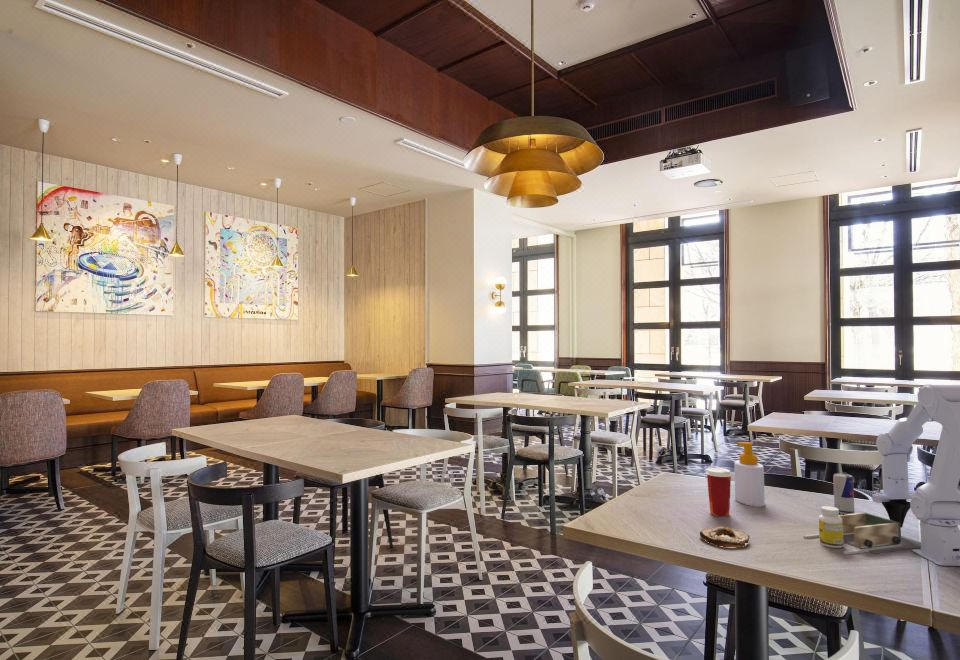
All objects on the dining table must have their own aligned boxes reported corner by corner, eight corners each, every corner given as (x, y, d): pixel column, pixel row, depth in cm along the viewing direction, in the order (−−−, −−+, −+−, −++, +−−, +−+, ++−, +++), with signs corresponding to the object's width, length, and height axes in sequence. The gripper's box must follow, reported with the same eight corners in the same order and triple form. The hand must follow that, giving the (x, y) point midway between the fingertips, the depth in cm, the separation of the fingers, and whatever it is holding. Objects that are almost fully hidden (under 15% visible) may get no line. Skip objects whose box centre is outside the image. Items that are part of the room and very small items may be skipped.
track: (873, 527, 159) (873, 525, 159) (930, 546, 144) (930, 544, 144) (799, 536, 152) (799, 533, 152) (851, 556, 137) (851, 554, 137)
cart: (862, 528, 156) (861, 511, 156) (905, 543, 144) (904, 524, 144) (820, 533, 152) (820, 515, 152) (861, 548, 140) (861, 529, 140)
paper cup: (738, 515, 171) (737, 471, 172) (719, 518, 168) (718, 473, 169) (719, 509, 179) (718, 466, 179) (701, 512, 176) (700, 468, 176)
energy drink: (857, 515, 170) (856, 477, 171) (838, 514, 172) (837, 476, 172) (849, 510, 176) (848, 473, 176) (831, 510, 177) (830, 473, 177)
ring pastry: (684, 535, 155) (684, 520, 155) (729, 531, 158) (729, 516, 158) (718, 554, 140) (718, 538, 141) (767, 549, 144) (766, 533, 144)
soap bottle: (729, 496, 194) (728, 439, 195) (752, 496, 193) (751, 439, 194) (746, 507, 181) (744, 446, 181) (771, 507, 180) (769, 446, 181)
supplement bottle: (821, 540, 149) (819, 504, 150) (844, 544, 146) (843, 507, 146) (818, 545, 145) (816, 508, 145) (842, 550, 142) (841, 512, 142)
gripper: (900, 472, 157) (902, 519, 157) (861, 476, 154) (863, 524, 153) (926, 478, 151) (928, 527, 150) (885, 481, 147) (887, 532, 147)
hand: (896, 526), depth 151 cm, fingers closed
